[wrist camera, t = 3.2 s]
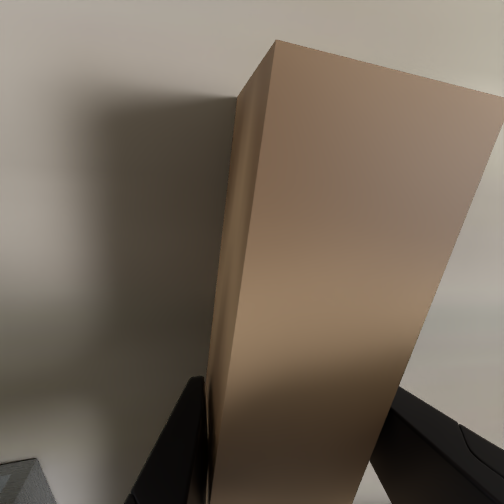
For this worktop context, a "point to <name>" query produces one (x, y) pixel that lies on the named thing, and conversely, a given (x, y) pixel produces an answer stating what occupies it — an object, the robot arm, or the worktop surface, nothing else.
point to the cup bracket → (24, 484)
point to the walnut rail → (330, 264)
